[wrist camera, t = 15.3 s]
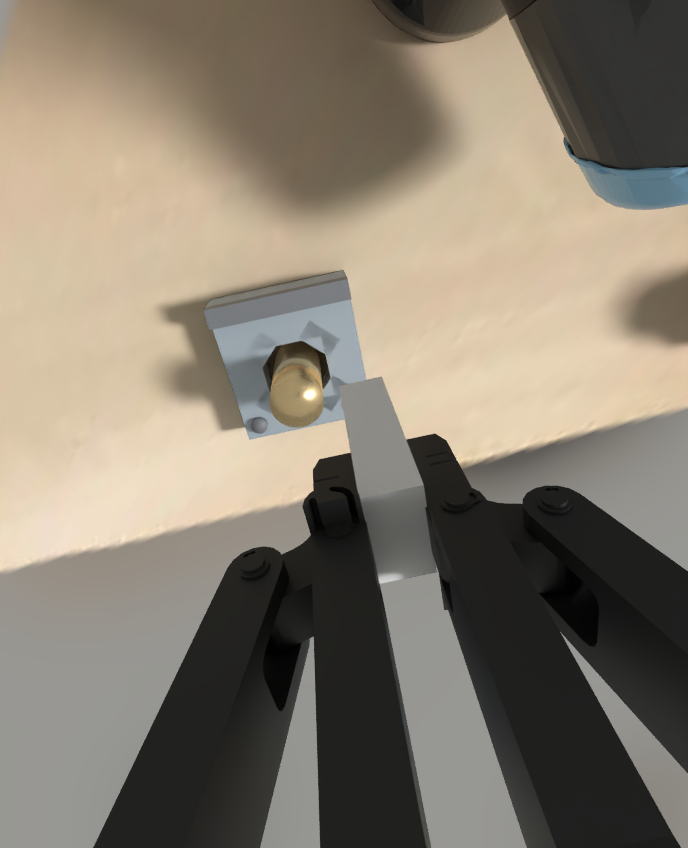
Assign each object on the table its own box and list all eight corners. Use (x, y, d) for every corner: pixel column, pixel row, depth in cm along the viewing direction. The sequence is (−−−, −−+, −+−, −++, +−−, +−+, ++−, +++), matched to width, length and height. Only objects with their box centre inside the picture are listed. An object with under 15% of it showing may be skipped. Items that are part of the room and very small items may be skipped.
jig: (210, 299, 47) (202, 310, 43) (343, 270, 46) (347, 279, 43) (252, 426, 53) (248, 445, 50) (369, 401, 53) (374, 418, 49)
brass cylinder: (269, 346, 49) (262, 384, 40) (314, 336, 49) (316, 372, 40) (281, 387, 52) (277, 432, 43) (324, 377, 51) (329, 421, 43)
